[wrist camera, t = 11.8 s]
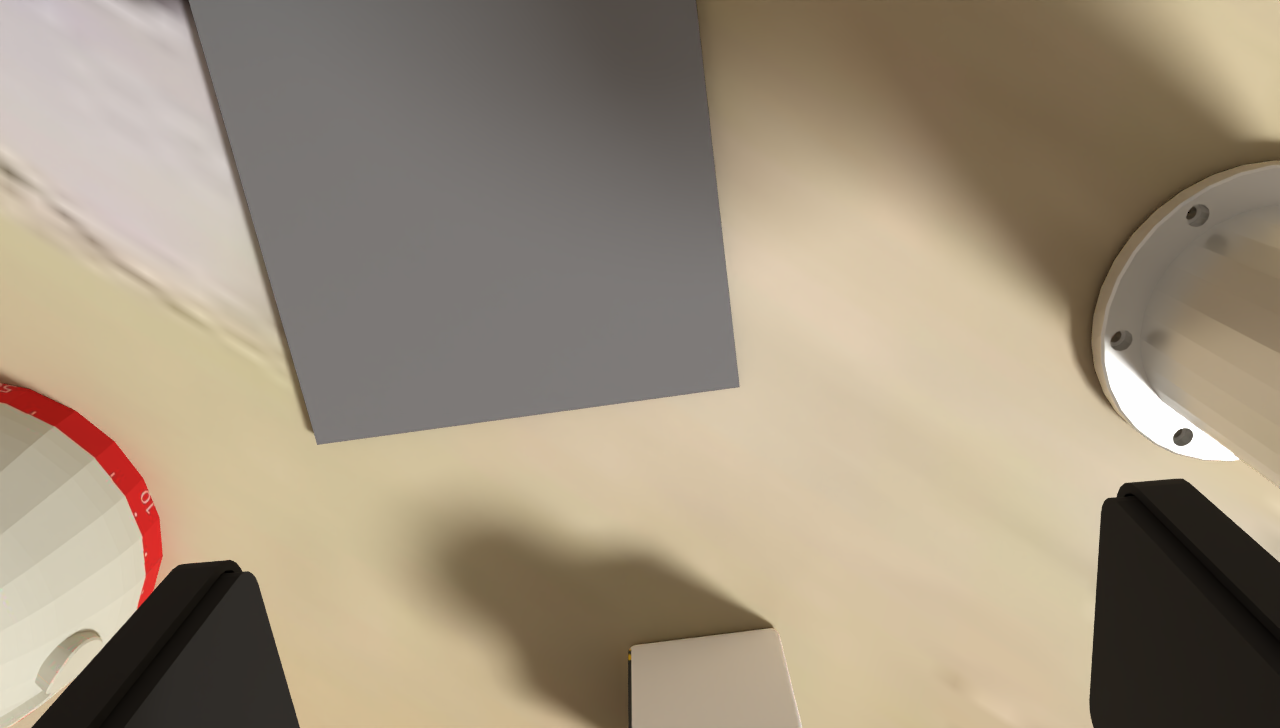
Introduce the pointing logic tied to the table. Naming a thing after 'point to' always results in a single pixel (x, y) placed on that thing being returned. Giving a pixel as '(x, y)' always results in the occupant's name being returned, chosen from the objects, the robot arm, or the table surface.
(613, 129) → the mat
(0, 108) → the table surface
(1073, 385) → the table surface
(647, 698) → the medicine bottle
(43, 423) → the kitchen timer
